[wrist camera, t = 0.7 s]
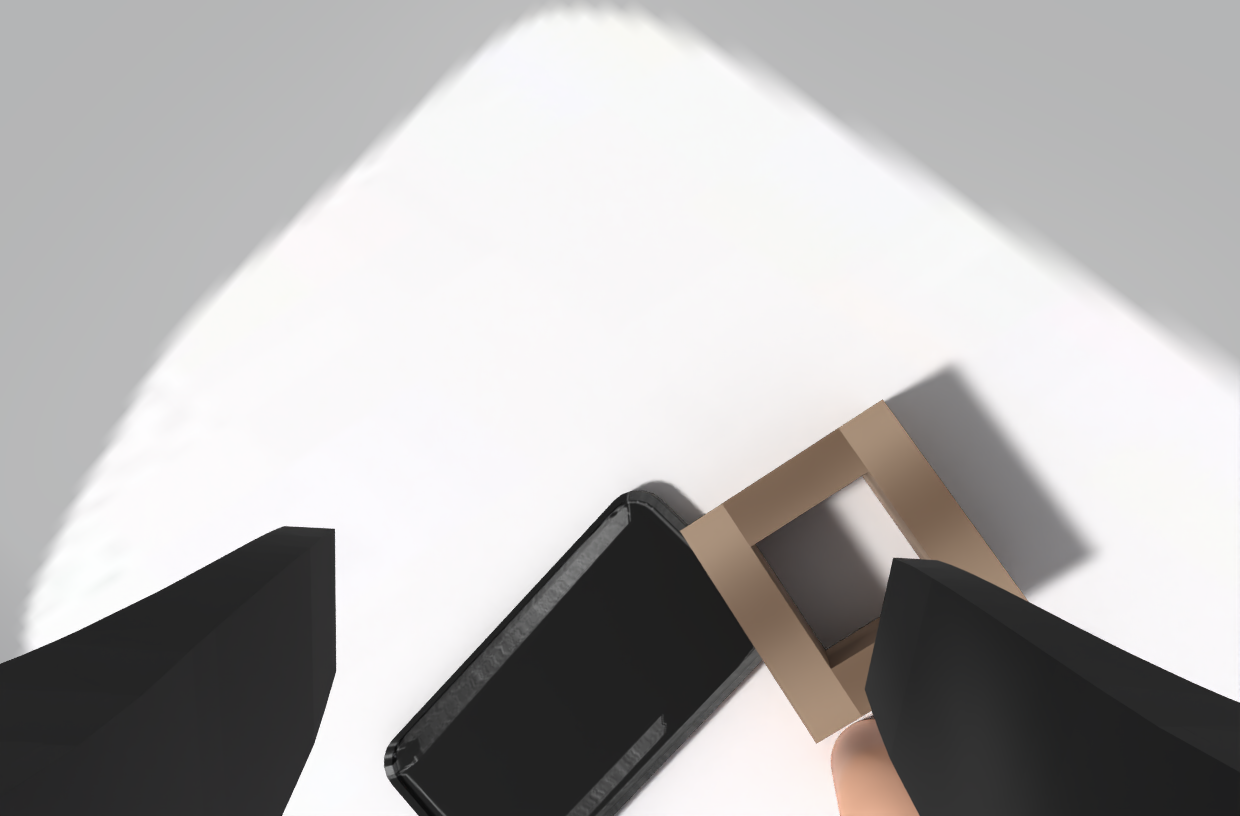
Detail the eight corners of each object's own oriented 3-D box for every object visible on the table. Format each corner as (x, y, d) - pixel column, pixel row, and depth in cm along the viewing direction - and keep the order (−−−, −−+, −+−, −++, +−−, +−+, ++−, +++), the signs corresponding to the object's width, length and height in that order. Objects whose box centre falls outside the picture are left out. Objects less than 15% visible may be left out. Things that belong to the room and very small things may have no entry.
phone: (372, 761, 31) (634, 477, 30) (386, 751, 32) (640, 477, 31) (512, 925, 29) (795, 631, 28) (522, 909, 31) (794, 625, 30)
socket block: (1008, 598, 28) (1035, 611, 25) (812, 717, 29) (816, 743, 26) (872, 407, 29) (882, 399, 26) (689, 526, 30) (680, 530, 27)
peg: (945, 784, 28) (989, 865, 22) (865, 830, 28) (888, 922, 22) (890, 701, 28) (919, 758, 22) (812, 748, 29) (821, 815, 23)
